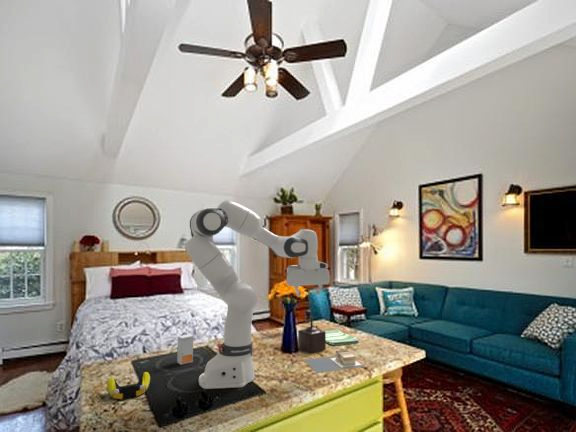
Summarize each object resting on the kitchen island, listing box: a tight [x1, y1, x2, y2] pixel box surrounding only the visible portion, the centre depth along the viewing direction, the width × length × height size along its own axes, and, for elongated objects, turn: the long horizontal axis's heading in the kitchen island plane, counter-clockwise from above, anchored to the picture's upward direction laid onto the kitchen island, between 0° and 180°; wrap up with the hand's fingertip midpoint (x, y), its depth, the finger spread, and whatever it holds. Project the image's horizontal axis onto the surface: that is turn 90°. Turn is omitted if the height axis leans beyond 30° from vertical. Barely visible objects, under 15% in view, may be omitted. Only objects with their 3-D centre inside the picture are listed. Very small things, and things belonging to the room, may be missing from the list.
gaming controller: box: [106, 371, 151, 400], centre depth 130 cm, size 15×6×10 cm
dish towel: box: [324, 328, 360, 346], centre depth 198 cm, size 18×23×3 cm
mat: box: [303, 355, 366, 374], centre depth 159 cm, size 23×16×1 cm
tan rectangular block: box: [335, 349, 357, 366], centre depth 161 cm, size 9×6×4 cm, turn 18°
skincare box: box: [176, 333, 194, 366], centre depth 162 cm, size 6×4×12 cm
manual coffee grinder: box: [297, 309, 327, 354], centre depth 182 cm, size 16×11×18 cm
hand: (308, 295), depth 160 cm, fingers open, 8 cm apart
